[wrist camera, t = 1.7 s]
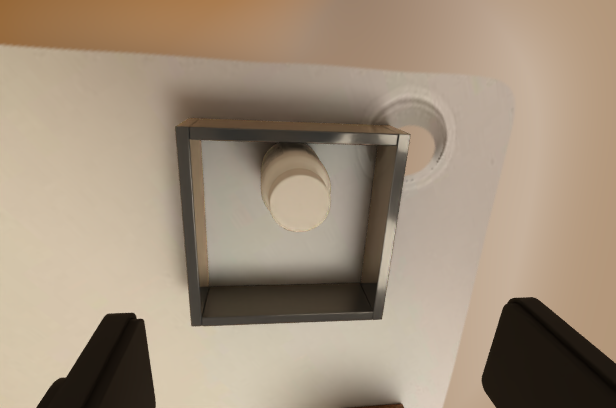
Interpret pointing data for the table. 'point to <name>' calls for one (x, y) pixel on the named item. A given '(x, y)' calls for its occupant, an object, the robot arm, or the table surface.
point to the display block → (383, 406)
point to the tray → (301, 297)
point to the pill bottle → (295, 186)
